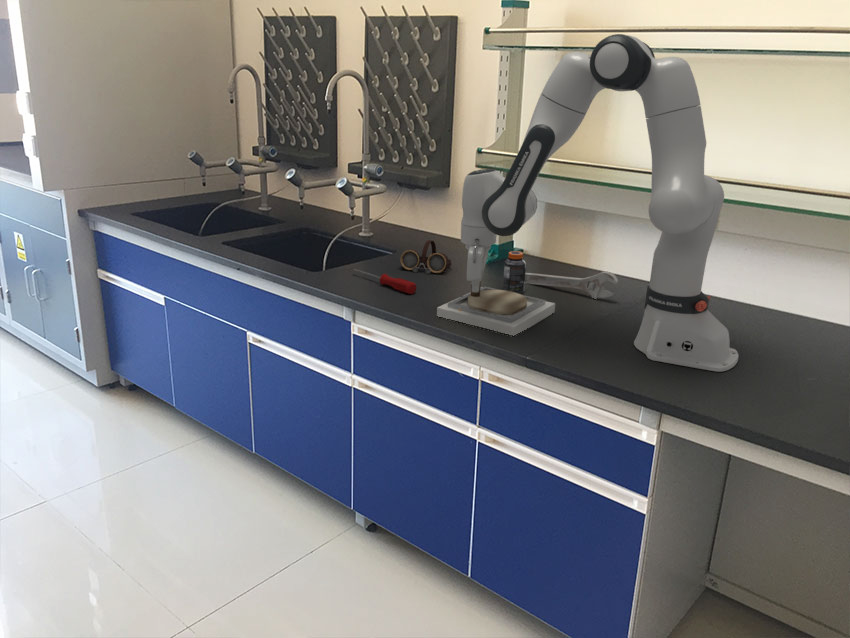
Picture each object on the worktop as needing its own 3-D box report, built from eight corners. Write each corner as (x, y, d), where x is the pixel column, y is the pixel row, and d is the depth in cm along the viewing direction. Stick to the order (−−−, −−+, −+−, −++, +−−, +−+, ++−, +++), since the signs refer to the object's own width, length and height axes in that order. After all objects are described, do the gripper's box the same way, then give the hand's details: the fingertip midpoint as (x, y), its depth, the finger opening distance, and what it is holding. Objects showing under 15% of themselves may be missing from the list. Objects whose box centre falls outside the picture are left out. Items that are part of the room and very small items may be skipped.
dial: (533, 300, 186) (535, 275, 184) (516, 318, 174) (518, 291, 171) (479, 291, 192) (480, 267, 190) (458, 308, 179) (460, 282, 177)
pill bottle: (526, 290, 204) (529, 251, 200) (520, 295, 199) (523, 256, 195) (506, 287, 206) (509, 248, 202) (499, 292, 201) (502, 253, 197)
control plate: (554, 312, 186) (555, 299, 185) (513, 336, 169) (514, 323, 168) (481, 295, 198) (482, 283, 197) (436, 316, 181) (437, 303, 180)
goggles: (396, 270, 219) (399, 237, 217) (410, 269, 231) (413, 237, 230) (445, 276, 214) (448, 242, 213) (456, 274, 227) (459, 242, 225)
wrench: (522, 290, 213) (618, 301, 195) (519, 292, 212) (615, 302, 193) (521, 264, 211) (618, 272, 193) (518, 265, 210) (615, 273, 191)
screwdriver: (358, 274, 215) (358, 262, 214) (417, 293, 199) (417, 281, 198) (349, 276, 213) (349, 264, 212) (408, 296, 197) (408, 284, 195)
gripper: (488, 245, 168) (485, 301, 173) (493, 226, 187) (491, 277, 192) (461, 244, 169) (459, 300, 174) (469, 225, 188) (467, 276, 193)
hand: (476, 288), depth 183 cm, fingers open, 4 cm apart
